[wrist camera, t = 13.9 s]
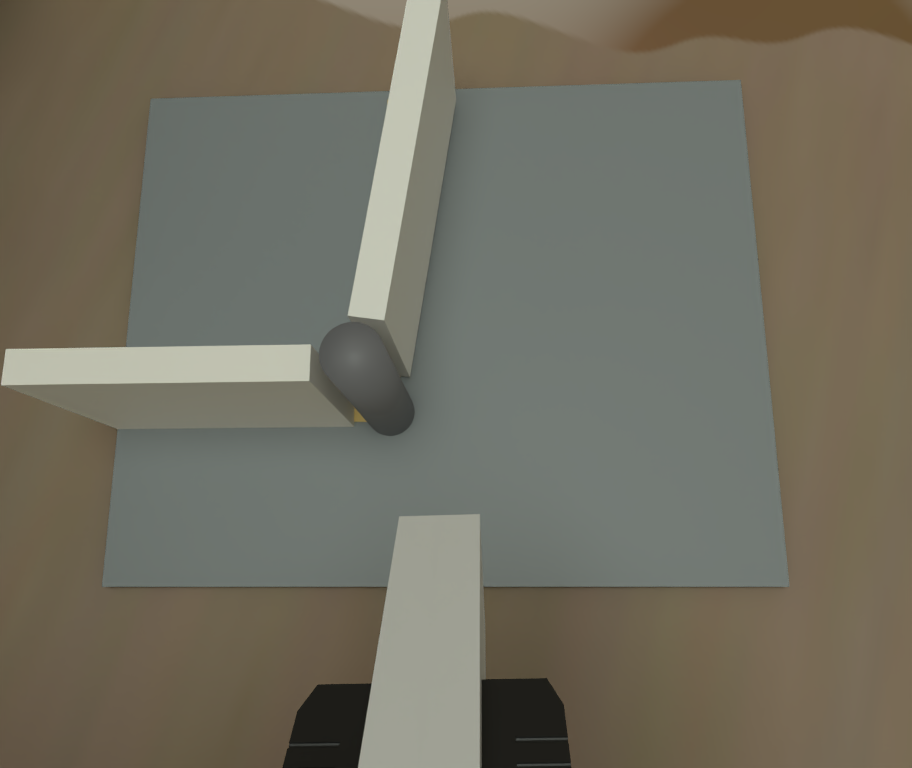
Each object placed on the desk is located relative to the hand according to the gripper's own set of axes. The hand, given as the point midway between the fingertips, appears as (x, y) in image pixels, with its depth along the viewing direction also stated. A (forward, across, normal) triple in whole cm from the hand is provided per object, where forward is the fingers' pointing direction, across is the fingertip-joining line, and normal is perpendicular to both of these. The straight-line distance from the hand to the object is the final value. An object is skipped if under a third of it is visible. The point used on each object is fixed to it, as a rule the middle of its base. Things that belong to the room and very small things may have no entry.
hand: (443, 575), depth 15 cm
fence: (+17, -8, -5) cm, 20 cm away
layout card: (+20, -1, -2) cm, 20 cm away
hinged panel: (+22, -2, +1) cm, 22 cm away
